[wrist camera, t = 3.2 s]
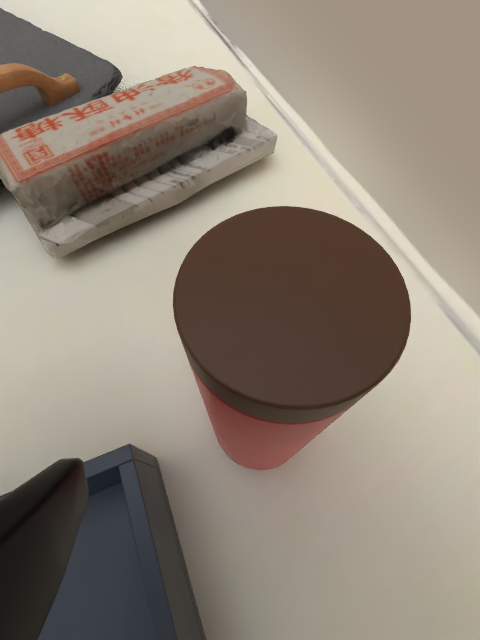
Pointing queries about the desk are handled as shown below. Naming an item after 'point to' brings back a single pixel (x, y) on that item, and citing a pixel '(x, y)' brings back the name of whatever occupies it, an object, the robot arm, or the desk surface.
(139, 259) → the desk surface
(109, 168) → the packaged product
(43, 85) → the serving tray
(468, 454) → the desk surface
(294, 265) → the candy tube
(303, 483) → the desk surface
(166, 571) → the desk bin
